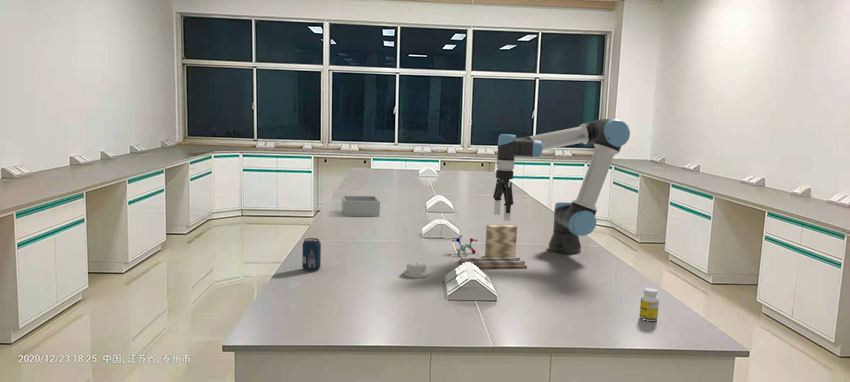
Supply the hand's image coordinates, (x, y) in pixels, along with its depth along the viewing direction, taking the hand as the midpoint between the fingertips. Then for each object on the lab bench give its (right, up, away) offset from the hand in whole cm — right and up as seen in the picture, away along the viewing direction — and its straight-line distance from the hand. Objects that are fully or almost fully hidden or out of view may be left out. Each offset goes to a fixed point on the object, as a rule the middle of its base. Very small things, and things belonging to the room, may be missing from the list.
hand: (501, 217), depth 271 cm
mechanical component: (-37, -21, -32) cm, 54 cm away
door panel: (0, -18, +2) cm, 18 cm away
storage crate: (-73, -2, +101) cm, 125 cm away
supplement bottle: (+37, -29, -75) cm, 89 cm away
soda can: (-78, -19, -32) cm, 87 cm away
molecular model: (-17, -17, +6) cm, 24 cm away
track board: (-6, -19, -13) cm, 24 cm away
